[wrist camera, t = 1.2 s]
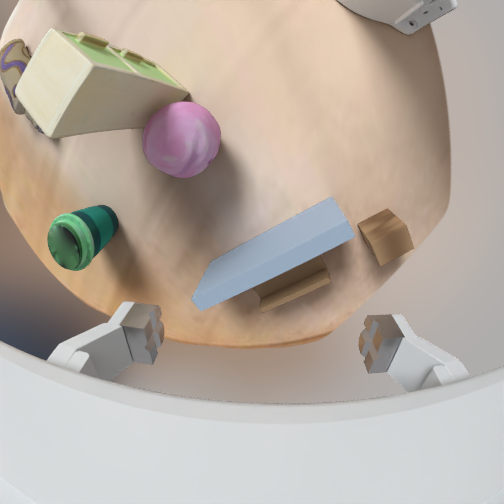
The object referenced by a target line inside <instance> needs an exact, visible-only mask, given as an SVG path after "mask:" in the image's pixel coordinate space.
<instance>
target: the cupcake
mask: <svg viewBox="0 0 504 504" xmlns="http://www.w3.org/2000/svg"><path fill="white" fill-rule="evenodd" d="M220 137H221V131H220V127H219V125H218V123H217V121H216V120H215V118H214V117H213V116H212V115H211V113H210V112H209V111H208V110H207V109H205V108H204V107H202V106H200V105H198V104H196V103H193V102H176V103H172V104H168V105H166V106H164V107H163V108H161V109H159V110H158V111H157V112H155V113H154V114H153V115H152V116H151V118H150V119H149V120H148V122H147V124H146V126H145V129H144V132H143V150H144V153H145V156H146V158H147V160H148V161H149V162H150V164H151V165H153V166H154V167H156V168H157V169H159V170H160V171H162V172H164V173H167V174H169V175H171V176H174V177H178V178H189V177H193V176H195V175H197V174H199V173H201V172H202V171H203V170H204V169H206V168H207V166H208V165H209V164H210V163H211V162H212V161H213V159H214V158H215V157H216V155H217V152H218V150H219V146H220Z"/></svg>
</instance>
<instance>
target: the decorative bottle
mask: <svg viewBox="0 0 504 504" xmlns="http://www.w3.org/2000/svg"><path fill="white" fill-rule="evenodd" d="M30 60H31V58H30V56H29V54H28V51H27V49H26V47H25V43H24V41H23V40H22V39H14V40H12V41H10V42H8V43H7V44H6V45H5V46H4V47H3V48H2V49H1V50H0V76H1V79H2V82H3V84H4V87H5V90H6V93H7V95H8V97H9V99H10V102H11V105H12V107H13V109H14V111H15V113H16V114H20V115H21V114H26V116H27V118H28V119H29V120H31V121H32V123H33V125H34V126H35V128H36V129H38V130H39V132H41V133H44V132H43V131H42V129H41V128H40V127H39V126H38V124H37V123H36V122H35V121H34V119H33V118H32V117H31V115H30V114H29V113H28V111H27V110H26V109H25V107H24V106H23V105H22V104H21V102H20V101H19V99H18V98H17V96H16V94H15V89H16V87H17V84H18V82H19V80H20V78H21V76H22V74H23V72H24V71H25V69H26V67H27V65H28V63H29V61H30Z"/></svg>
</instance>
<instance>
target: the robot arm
mask: <svg viewBox="0 0 504 504" xmlns="http://www.w3.org/2000/svg"><path fill="white" fill-rule="evenodd" d="M338 1H339V2H340V3H342V4H343V5H344V6H346V7H347V8H349V9H350V10H352V11H354V12H355V13H357V14H359V15H361V16H364V17H366V18H369V19H372V20H375V21H379V22H383V23H386V24H389V25H391V26H392V27H394V28H395V29H397V30H399V31H400V32H402V33H404V34H407V35H411V34H413V33H414V32H416V31H417V30H419V29H421V28H422V27H424V26H426V25H427V24H429V23H431V22H432V21H434V20H436V19H437V18H439V17H441V16H443V15H445V14H446V13H448V12H450V11H452V10H454V9H455V8H456V7H457V1H456V0H338ZM409 22H410V23H412V25H413V26H412V25H411V24H410V23H409ZM161 315H162V313H161V308H160V307H159V306H158V305H151V304H144V303H137V302H129V301H124V302H123V303H122V304H121V305H120V307H119V308H118V310H117V311H116V312H115V314H114V315H113V316H112V318H111V319H110V321H109V322H108V323H103V324H101V325H99V326H97V327H94V328H92V329H90V330H88V331H86V332H84V333H82V334H79V335H77V336H75V337H73V338H71V339H69V340H67V341H64V342H63V343H60V344H59V345H58V346H57V348H56V349H55V350H54V351H53V353H52V354H51V355H50V357H49V358H48V360H47V361H45V360H42V359H40V358H37V357H34V356H32V355H30V354H27V353H25V352H23V351H21V350H18V349H16V348H14V347H12V346H9V345H7V344H5V343H3V342H1V341H0V504H504V366H501V367H499V368H496V369H493V370H491V371H488V372H485V373H482V374H479V375H476V376H472V377H470V375H469V374H468V372H467V370H466V369H465V367H464V366H463V364H462V363H461V361H460V360H458V359H457V358H455V357H454V356H452V355H450V354H448V353H447V352H445V351H443V350H442V349H440V348H438V347H436V346H435V345H433V344H431V343H430V342H428V341H426V340H425V339H423V338H421V337H419V336H417V337H416V335H415V334H414V333H413V331H412V329H411V328H410V326H409V325H408V323H407V322H406V320H405V319H404V317H403V316H402V315H401V314H399V313H398V314H389V315H368V316H367V317H366V319H365V322H364V325H365V327H366V328H365V329H364V330H363V331H362V332H361V334H360V337H359V350H360V353H361V355H363V356H364V357H365V360H364V363H365V366H366V369H367V371H368V373H381V372H387V374H389V376H390V377H392V378H393V379H394V380H395V381H396V382H397V383H398V384H399V385H400V386H402V387H403V388H404V389H405V390H406V391H407V392H408V393H402V394H397V395H391V396H384V397H378V398H369V399H361V400H351V401H340V402H324V403H297V404H296V403H294V404H278V403H274V404H273V403H246V402H231V401H219V400H209V399H199V398H192V397H185V396H178V395H172V394H166V393H160V392H155V391H150V390H145V389H140V388H135V387H130V386H126V385H122V384H118V383H114V382H110V380H111V379H113V378H114V377H115V376H117V375H118V374H119V373H121V372H122V371H123V370H125V369H126V368H127V367H129V366H130V365H131V364H133V362H137V363H143V364H150V365H153V364H154V361H155V359H156V357H157V354H158V352H157V348H158V347H160V346H161V345H162V342H163V339H164V325H163V323H162V322H161V320H160V317H161Z"/></svg>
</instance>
